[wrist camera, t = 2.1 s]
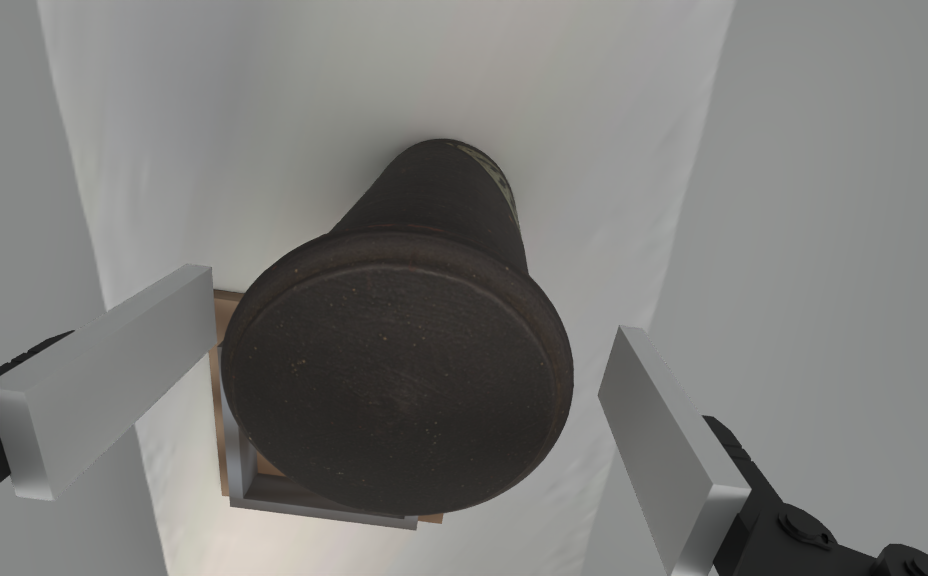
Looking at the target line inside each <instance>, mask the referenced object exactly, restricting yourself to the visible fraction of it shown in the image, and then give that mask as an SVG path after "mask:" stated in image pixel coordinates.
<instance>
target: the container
mask: <svg viewBox="0 0 928 576" xmlns="http://www.w3.org/2000/svg"><path fill="white" fill-rule="evenodd" d="M221 378H222V384H223V389H224V393H225V397H226V400H227V403H228V406H229V408H230V411H231V413H232V415H233V417H234V419H235V421H236V423H237V425H238V426H239V428H240V429H241V431H242V433H243V434H244V435H245V437H246V438H247V439H248V441H249V442H250V443H251V444H252V445H253V446H254V447H255V449H256V450H257V451H258V452H259V453H260V454H261V455H262V456H263V457H264V458H265V459H266V460H267V461H268V462H269V463H271V464H272V465H273V466H274V467H275V468H277V469H278V470H279V471H280V472H281V473H283V474H284V475H285V476H287V477H288V478H289V479H291V480H292V481H293V482H295V483H297V484H298V485H300V486H301V487H303V488H305V489H306V490H308V491H311V492H313V493H315V494H317V495H319V496H321V497H323V498H326V499H328V500H331V501H334V502H336V503H338V504H341V505H344V506H347V507H351V508H354V509H357V510H362V511H366V512H371V513H377V514H385V515H395V516H425V515H434V514H441V513H448V512H453V511H458V510H462V509H466V508H469V507H472V506H475V505H478V504H481V503H483V502H486V501H488V500H490V499H492V498H495V497H496V496H498V495H500V494H502V493H504V492H505V491H507V490H509V489H510V488H512V487H513V486H515V485H516V484H518V483H519V482H520V481H522V480H523V479H524V478H526V477H527V476H528V475H529V474H530V473H531V472H532V471H533V470H534V469H535V468H536V467H537V466H538V465H539V464H540V463H541V462H542V461H543V460H544V459H545V457H546V456H547V455H548V453H549V452H550V451H551V449H552V448H553V446H554V444H555V443H556V441H557V440H558V438H559V436H560V434H561V432H562V430H563V428H564V426H565V423H566V420H567V418H568V415H569V410H570V406H571V401H572V395H573V387H574V382H573V381H574V368H573V358H572V352H571V348H570V343H569V339H568V336H567V333H566V331H565V328H564V326H563V323H562V321H561V319H560V317H559V315H558V313H557V311H556V309H555V307H554V306H553V304H552V303H551V301H550V300H549V298H548V297H547V296H546V294H545V293H544V292H543V290H542V289H541V288H540V287H539V285H538V284H537V283H536V282H535V281H534V280H533V279H532V278H531V277H530V276H529V273H528V268H527V262H526V256H525V250H524V245H523V242H522V237H521V232H520V227H519V221H518V216H517V211H516V206H515V202H514V197H513V194H512V190H511V188H510V185H509V183H508V181H507V179H506V177H505V176H504V174H503V172H502V171H501V169H500V168H499V167H498V166H497V164H496V163H495V162H494V161H493V160H492V159H491V158H490V157H488V156H487V155H486V154H485V153H483V152H482V151H480V150H478V149H477V148H475V147H473V146H471V145H468V144H466V143H463V142H460V141H456V140H450V139H435V140H429V141H425V142H421V143H419V144H416V145H414V146H412V147H410V148H408V149H407V150H405V151H404V152H403V153H401V154H400V155H399V156H398V157H397V158H395V159H394V160H393V161H392V162H391V163H390V164H389V165H388V166H387V168H386V169H385V170H384V171H383V173H382V174H381V175H380V176H379V178H378V179H377V180H376V181H375V182H374V184H373V185H372V186H371V187H370V188H369V189H368V191H367V192H366V193H365V194H364V195H363V196H362V197H361V198H360V199H359V200H358V202H357V203H356V204H355V205H354V206H353V207H352V208H351V209H350V210H349V212H348V213H347V214H346V215H345V216H344V217H343V218H342V220H341V221H340V222H338V223H337V225H336V226H335V227H334V228H333V229H332V230H331V231H330V232H329V233H327V234H324V235H322V236H320V237H318V238H315V239H313V240H311V241H309V242H307V243H305V244H303V245H301V246H299V247H297V248H296V249H294V250H292V251H291V252H289V253H288V254H286V255H285V256H283V257H282V258H281V259H279V260H278V261H277V262H275V263H274V264H273V265H272V266H270V267H269V268H268V269H267V270H265V271H264V272H263V273H262V274H261V275H260V276H259V277H258V278H257V279H256V280H255V282H254V283H253V284H252V285H251V286H250V287H249V289H248V290H247V291H246V293H245V294H244V295H243V297H242V299H241V300H240V302H239V304H238V305H237V307H236V309H235V311H234V312H233V314H232V316H231V319H230V321H229V324H228V326H227V329H226V332H225V337H224V340H223V345H222V352H221Z"/></svg>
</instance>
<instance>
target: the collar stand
mask: <svg viewBox="0 0 928 576" xmlns="http://www.w3.org/2000/svg"><path fill="white" fill-rule="evenodd" d="M213 292H214V306H215V320H216V333H217V343H216V344H215V345H214V346H213V347H212V348H211V349H210V350H209V360H210V370H211V381H212V392H213V403H214V414H215V425H216V436H217V446H218V457H219V468H220V479H221V490H222V496H229V497H230V507H237V508H245V509H253V510H260V511H268V512H276V513H284V514H292V515H299V516H307V517H315V518H323V519H331V520H338V521H346V522H354V523H362V524H370V525H378V526H385V527H393V528H401V529H409V530H416V529H417V522H418V521H423V522H431V523H439V524H442V519H443V513H441V514H434V515H425V516H395V515H385V514H377V513H371V512H366V511H362V510H357V509H354V508H351V507H347V506H344V505H341V504H338V503H336V502H334V501H331V500H328V499H326V498H323V497H321V496H319V495H317V494H315V493H313V492H311V491H308V490H306V489H305V488H303V487H301V486H300V485H298V484H297V483H295V482H293V481H292V480H291V479H289V478H288V477H287V476H285V475H284V474H283V473H281V472H280V471H279V470H278V469H277V468H275V467H274V466H273V465H272V464H271V463H269V462H268V461H267V460H266V459H265V458H264V457H263V456H262V455H261V454H260V453H259V452H258V451H257V450H256V449H255V447H254V446H253V445H252V444H251V443H250V442H249V441H248V439H247V438H246V437H245V435H244V434H243V433H242V431H241V429H240V428H239V426H238V425H237V423H236V421H235V419H234V417H233V415H232V413H231V411H230V408H229V406H228V403H227V400H226V397H225V393H224V389H223V384H222V378H221V352H222V345H223V340H224V337H225V332H226V329H227V326H228V324H229V321H230V319H231V316H232V314H233V312H234V311H235V309H236V307H237V305H238V304H239V302H240V300H241V299H242V297H243V295H244V294H242V293H235V292H228V291H221V290H214V289H213Z"/></svg>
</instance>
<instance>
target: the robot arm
mask: <svg viewBox="0 0 928 576" xmlns="http://www.w3.org/2000/svg"><path fill="white" fill-rule="evenodd" d="M216 343H217V333H216V320H215V306H214V292H213V279H212V267H206V266H199V265H192V264H186V265H184V266H183V267H181V268H179V269H178V270H176V271H174V272H173V273H171V274H169V275H168V276H166V277H164V278H163V279H161V280H159V281H158V282H156V283H154V284H153V285H151V286H149V287H148V288H146V289H144V290H143V291H141V292H139V293H138V294H136V295H134V296H133V297H131V298H129V299H128V300H126V301H124V302H123V303H121V304H119V305H118V306H116V307H114V308H113V309H111V310H109V311H108V312H106V313H104V314H103V315H101V316H99V317H98V318H96V319H94V320H93V321H91V322H89V323H88V324H86V325H84V326H83V327H81V328H80V329H78V330H76V331H75V330H72V331H69V332H66V333H63V334H61V335H57V336H55V337H52V338H49V339H47V340H45V341H43V342H41V343H40V344H38V345H36V346H35V347H33V348H31V349H29V350H28V352H27V353H23V354H21V355H19V356H17V357H16V358H14V359H12V360H11V362H10V363H8V362H7V363H5V364H3V365H2V366H0V482H2V481H3V480H4V479H5V478H6V477H8V476H9V475H10V477H11V480H12V483H13V487H14V490H15V493H16V496H18V497H25V498H33V499H41V500H49V501H55V500H56V499H57V497H59V496H60V495H61V494H62V493H63V492H64V491H65V490H66V489H67V488H68V487H69V486H70V485H71V484H72V483H73V482H74V481H75V480H76V479H77V478H78V477H79V476H80V475H81V474H82V473H83V472H84V471H86V469H88V467H90V466H91V465H92V464H93V463H94V462H95V461H96V460H97V459H98V458H99V457H100V456H101V455H102V454H103V453H104V452H105V451H106V450H107V449H108V448H109V447H110V446H111V445H112V444H113V443H114V442H115V441H116V440H117V439H118V438H119V437H120V436H122V435H123V433H125V432H126V431H127V430H128V429H129V428H130V427H131V426H132V425H133V424H134V423H135V422H136V421H137V420H138V419H139V418H140V417H141V416H142V415H143V414H144V413H145V412H146V411H147V410H148V409H149V408H150V407H151V406H153V405H154V404H155V403H156V402H157V401H158V400H159V399H160V398H161V397H162V396H163V395H164V394H165V393H166V392H167V391H168V390H169V389H170V388H171V387H172V386H173V385H174V384H175V383H176V382H177V381H178V380H179V379H180V378H181V377H182V376H183V375H184V374H185V373H187V372H188V371H189V370H190V369H191V368H192V367H193V366H194V365H195V364H196V363H197V362H198V361H199V360H200V359H201V358H202V357H203V356H204V355H205V354H206V353H207V352H208V351H209V350H210V349H211V348H212V347H213V346H214V345H215V344H216ZM598 397H599V400H600V403H601V405H602V408H603V410H604V413H605V415H606V418H607V421H608V423H609V426H610V428H611V431H612V434H613V436H614V439H615V441H616V444H617V446H618V449H619V452H620V454H621V457H622V459H623V462H624V464H625V467H626V470H627V472H628V475H629V477H630V480H631V483H632V485H633V488H634V490H635V493H636V496H637V498H638V500H639V503H640V506H641V508H642V511H643V514H644V516H645V519H646V521H647V524H648V527H649V529H650V532H651V534H652V537H653V539H654V542H655V545H656V547H657V550H658V552H659V555H660V558H661V560H662V563H663V565H664V568H665V570H666V573H667V575H668V576H708V573H709V572H710V570H711V568H712V566H713V564H714V566H715V568H716V570H717V572H718V574H719V576H928V554H926V553H924V552H922V551H920V550H918V549H915V548H912V547H909V546H906V545H902V544H889V545H888V546H887V547H885V548H884V549H883V550H882V552H881V553H880V555H879V556H878V558H874V557H872V556H869V555H866V554H863V553H861V552H858V551H855V550H852V549H850V548H847V547H844V546H842V545H839V544H838V543H837V541H836V539H835V538H834V536H833V535H832V533H831V532H830V531H829V530H828V529H827V528H826V527H825V526H824V525H823V524H822V523H820V521H819V520H817V519H816V518H814V517H813V516H811V515H810V514H808V513H807V512H805V511H804V510H802V509H799V508H797V507H795V506H793V505H790V504H786V503H783V501H782V500H781V498H780V497H779V496H778V494H777V493H776V492H775V490H774V489H773V488H772V486H771V485H770V484H769V482H768V481H767V479H766V478H765V477H764V475H763V474H762V473H761V471H760V470H759V469H758V468H757V466H756V464H755V463H754V462H753V461H751V458H750V456H749V455H748V454H747V452H746V451H745V450H744V449H742V445H741V444H740V443H739V441H738V440H737V439H736V437H735V436H734V435H733V433H732V432H731V431H730V430H729V429H728V428H727V427H725V426H724V425H723V424H722V423H721V422H719V421H718V420H717V419H716V418H714V417H711V416H704V415H701V414H700V412H699V411H698V410H697V408H696V407H695V405H694V404H693V402H692V401H691V399H690V398H689V396H688V395H687V393H686V392H685V390H684V389H683V388H682V386H681V385H680V383H679V382H678V380H677V379H676V377H675V376H674V374H673V373H672V371H671V370H670V368H669V367H668V365H667V364H666V363H665V361H664V360H663V358H662V357H661V355H660V354H659V352H658V351H657V349H656V348H655V346H654V345H653V343H652V342H651V341H650V339H649V338H648V336H647V335H646V333H645V332H644V330H643V329H642V328H635V327H628V326H621V325H619V327H618V331H617V334H616V337H615V340H614V344H613V347H612V350H611V353H610V357H609V360H608V363H607V366H606V370H605V373H604V376H603V379H602V383H601V386H600V389H599V392H598Z"/></svg>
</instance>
